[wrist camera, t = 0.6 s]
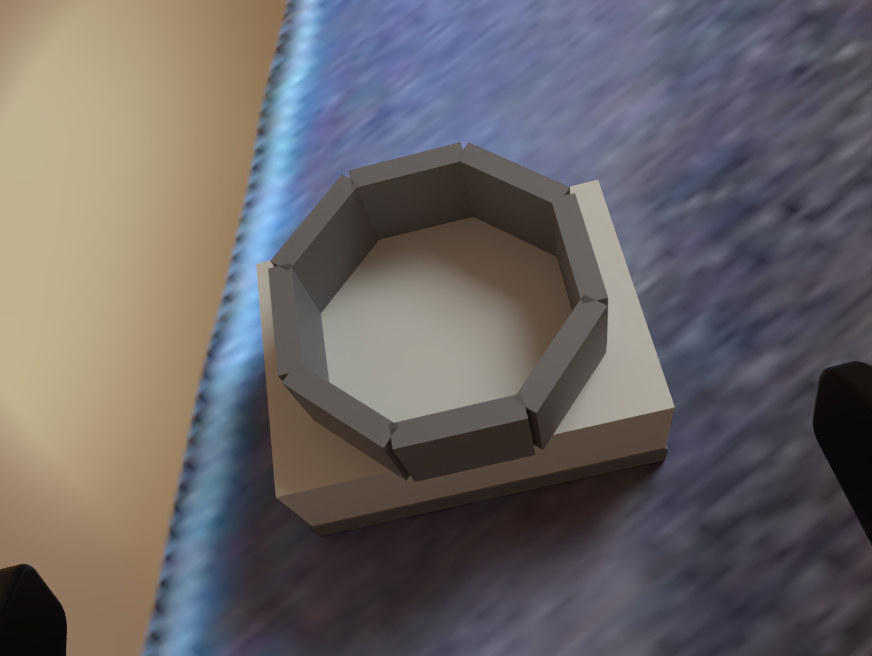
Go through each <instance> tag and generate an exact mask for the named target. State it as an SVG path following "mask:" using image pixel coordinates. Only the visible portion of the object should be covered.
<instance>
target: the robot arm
mask: <svg viewBox="0 0 872 656" xmlns="http://www.w3.org/2000/svg"><path fill="white" fill-rule="evenodd" d="M813 429H814V434H815V437H816V439H817V441H818V444H819V445H820V447H821V449H822V451H823V453H824V455H825V457H826V459H827V461H828V463H829V465H830V467H831V468H832V470H833V472H834V474H835V476H836V478H837V480H838V482H839V484H840V486H841V488H842V490H843V491H844V493H845V495H846V497H847V499H848V501H849V503H850V505H851V507H852V509H853V511H854V513H855V514H856V516H857V518H858V520H859V522H860V524H861V526H862V528H863V530H864V532H865V534H866V535H867V537H868V539H869V541H870V543H871V545H872V366H871V365H869V364H866V363H863V362H859V361H853V362H849V363H845V364H841V365H837V366H832V367H828V368H826V369H824V370H823V371H822V373H821V374H820V376H819V380H818V387H817V393H816V400H815V407H814V413H813ZM66 640H67V622H66V616H65V612H64V609H63V607H62V605H61V603H60V602H59V601H58V599H57V598H56V597H55V595H54V594H53V593H52V591H51V590H50V589H49V587H48V586H47V585H46V583H45V582H44V581H43V579H42V578H41V577H40V575H39V574H38V573H37V571H36V570H35V569H34V568H33V567H32V566H30V565H27V564H20V565H16V566H12V567H7V568H3V569H0V656H66Z"/></svg>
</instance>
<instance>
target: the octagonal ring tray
mask: <svg viewBox="0 0 872 656" xmlns="http://www.w3.org/2000/svg"><path fill="white" fill-rule="evenodd" d="M349 174H350V179H349V178H347V177H345V176H343V175H341V176H340V178H339V179H338V180H337V181H336V183H335V184H334V185H333V186H332V187H331V189H330V190H329V191H328V192H327V193H326V195H325V196H324V197H323V198H322V199H321V201H320V202H319V203H318V204H317V205H316V207H315V208H314V209H313V210H312V212H311V213H310V214H309V215H308V216H307V218H306V219H305V220H304V221H303V222H302V224H301V225H300V226H299V227H298V228H297V230H296V231H295V232H294V233H293V234H292V236H291V237H290V238H289V239H288V240H287V242H286V243H285V244H284V245H283V247H282V248H281V249H280V250H279V251H278V253H277V254H276V255H275V256H274V257H273V259H272V260H271V261H267V262H263V263H259V264H256V265H257V277H258V289H259V301H260V313H261V325H262V337H263V349H264V361H265V373H266V385H267V397H268V409H269V422H270V434H271V446H272V458H273V470H274V482H275V494H276V498H277V499H278V500H280V501H281V502H282V503H283V504H285V505H286V506H287V507H289V508H290V509H291V510H292V511H294V512H295V513H296V514H297V515H299V516H300V517H301V518H302V519H304V520H305V521H306V522H307V523H309V524H310V528H311V529H312V530H313V531H315V532H316V533H317V534H319V535H320V536H325V535H330V534H334V533H339V532H343V531H348V530H352V529H357V528H361V527H366V526H370V525H375V524H379V523H384V522H388V521H393V520H397V519H402V518H406V517H411V516H415V515H420V514H424V513H429V512H433V511H438V510H443V509H447V508H452V507H456V506H461V505H465V504H470V503H474V502H479V501H483V500H488V499H492V498H497V497H501V496H506V495H510V494H515V493H519V492H524V491H528V490H533V489H537V488H542V487H546V486H551V485H555V484H560V483H564V482H569V481H573V480H578V479H582V478H587V477H592V476H596V475H601V474H605V473H610V472H614V471H619V470H623V469H628V468H632V467H637V466H641V465H646V464H650V463H655V462H659V461H664V460H665V459H666V455H667V451H668V448H667V444H666V443H667V439H668V434H669V430H670V426H671V421H672V417H673V412H674V408H675V407H674V404H673V401H672V398H671V395H670V392H669V389H668V386H667V383H666V380H665V377H664V374H663V371H662V369H661V366H660V363H659V360H658V357H657V354H656V351H655V348H654V345H653V342H652V339H651V336H650V333H649V330H648V327H647V324H646V321H645V318H644V315H643V312H642V309H641V306H640V303H639V300H638V297H637V294H636V291H635V288H634V285H633V283H632V280H631V277H630V274H629V271H628V268H627V265H626V262H625V259H624V256H623V253H622V250H621V247H620V244H619V241H618V238H617V235H616V232H615V229H614V226H613V223H612V220H611V217H610V214H609V211H608V208H607V205H606V202H605V199H604V196H603V194H602V191H601V188H600V185H599V182H598V180H595V181H591V182H587V183H583V184H579V185H575V186H571V187H568V186H566V185H564V184H561V183H559V182H557V181H555V180H552V179H550V178H548V177H546V176H543V175H541V174H539V173H537V172H534V171H532V170H530V169H527V168H525V167H523V166H521V165H518V164H516V163H514V162H512V161H509V160H507V159H505V158H502V157H500V156H498V155H496V154H493V153H491V152H489V151H487V150H484V149H482V148H480V147H478V146H475V145H473V144H471V143H468V144H467V146H466V147H465V148H464V150H462V146H461V142H460V143H456V144H452V145H448V146H444V147H440V148H436V149H432V150H428V151H424V152H421V153H417V154H413V155H409V156H405V157H401V158H397V159H393V160H389V161H385V162H381V163H377V164H373V165H369V166H365V167H361V168H357V169H353V170H349Z"/></svg>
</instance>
